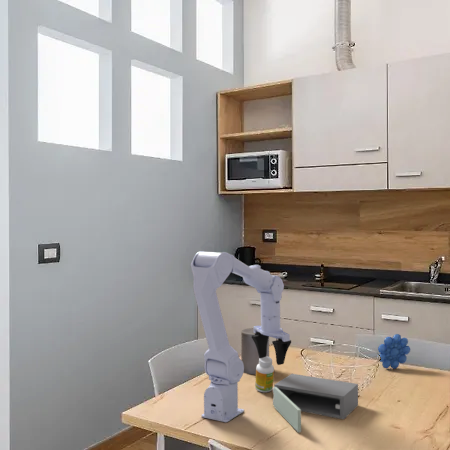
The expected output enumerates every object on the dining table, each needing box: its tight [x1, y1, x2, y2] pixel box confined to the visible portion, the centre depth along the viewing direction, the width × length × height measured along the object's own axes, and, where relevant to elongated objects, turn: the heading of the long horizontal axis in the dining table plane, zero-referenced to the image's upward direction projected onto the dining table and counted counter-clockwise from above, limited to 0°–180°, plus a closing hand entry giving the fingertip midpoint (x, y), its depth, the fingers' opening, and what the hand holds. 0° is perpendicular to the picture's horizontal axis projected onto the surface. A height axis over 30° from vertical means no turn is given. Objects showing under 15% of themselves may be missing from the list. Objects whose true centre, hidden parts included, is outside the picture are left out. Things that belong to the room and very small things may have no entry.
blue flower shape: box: [377, 333, 411, 369], centre depth 186 cm, size 12×7×12 cm, turn 94°
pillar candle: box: [240, 327, 270, 375], centre depth 184 cm, size 10×10×15 cm
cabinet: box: [273, 373, 359, 420], centre depth 150 cm, size 12×20×6 cm, turn 58°
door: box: [272, 386, 302, 433], centre depth 140 cm, size 19×1×5 cm, turn 13°
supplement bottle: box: [254, 356, 275, 393], centre depth 162 cm, size 5×5×10 cm
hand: (271, 360), depth 159 cm, fingers open, 7 cm apart
